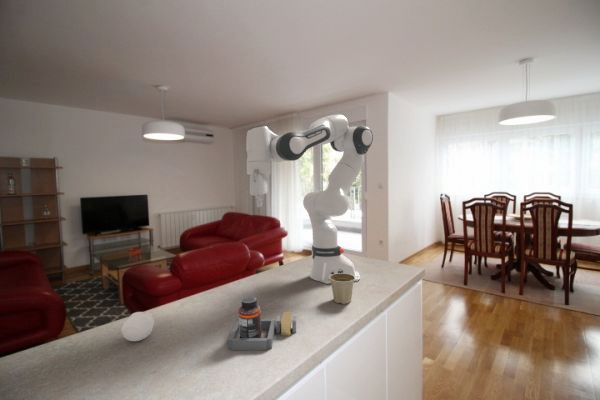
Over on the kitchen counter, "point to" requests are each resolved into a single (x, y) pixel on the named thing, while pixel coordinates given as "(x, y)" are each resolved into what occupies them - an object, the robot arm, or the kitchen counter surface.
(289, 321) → the bar
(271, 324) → the dock
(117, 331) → the kitchen counter surface
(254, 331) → the supplement bottle
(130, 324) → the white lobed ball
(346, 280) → the flower pot
